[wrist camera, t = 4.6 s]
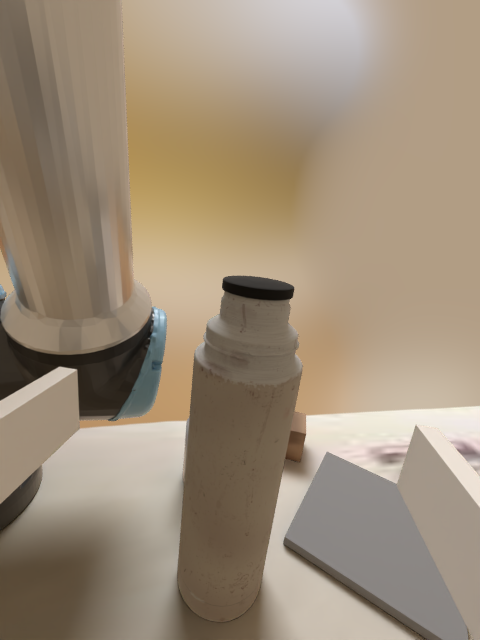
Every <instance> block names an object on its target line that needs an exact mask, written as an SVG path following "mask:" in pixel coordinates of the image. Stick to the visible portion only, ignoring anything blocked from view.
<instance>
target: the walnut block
mask: <svg viewBox="0 0 480 640" xmlns="http://www.w3.org/2000/svg"><path fill="white" fill-rule="evenodd" d="M305 436H306V414H303V413H299V412H294V416H293V421H292V426H291V431H290V436H289V441H288V446H287V451H286V457H285V459H289V460H293V461H297V462H300V460H301V455H302V450H303V446H304V441H305Z"/></svg>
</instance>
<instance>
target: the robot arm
mask: <svg viewBox="0 0 480 640" xmlns="http://www.w3.org/2000/svg"><path fill="white" fill-rule="evenodd" d="M126 114H127V113H126V91H125V67H124V45H123V21H122V0H0V249H1V252H2V255H3V257H4V260H5V263H6V266H7V268H8V271H9V274H10V277H11V280H12V282H13V286H14V288H15V290H14V291H13V292H12V293H11V294H9V296H8V297H7V298H6V300H5V297H6V292H5V291H4V289H3V287H2V286H1V285H0V530H1V529H3V528H4V527H5V526H6V525H8V524H9V523H10V522H11V521H12V520H13V519H15V518H16V517H17V516H18V515H19V514H20V513H21V512H22V511H23V510H24V509H25V507H26V506H27V505H28V504H29V502H30V501H31V500H32V498H33V497H34V495H35V494H36V492H37V490H38V488H39V486H40V483H41V480H42V464H43V463H44V462H45V461H46V460H47V459H48V458H49V457H50V456H51V455H52V454H53V453H54V452H55V451H56V450H58V449H59V448H60V447H61V446H62V445H63V444H64V443H65V442H66V441H67V440H68V439H69V438H70V437H71V436H72V435H73V434H74V433H75V432H76V431H77V430H79V429H80V424H79V420H108V421H116V420H118V419H121V418H132V417H140V416H143V415H145V414H146V413H148V412H149V411H150V410H151V408H152V407H153V404H154V402H155V399H156V396H157V391H158V387H159V382H160V376H161V364H162V362H163V356H164V350H165V340H166V329H167V318H166V313H165V312H164V311H163V310H162V309H158V308H156V307H152V302H151V298H150V295H149V293H148V291H147V289H146V288H145V287H144V286H143V285H142V284H141V283H140V282H138V281H137V280H135V279H134V275H133V253H132V228H131V206H130V185H129V184H130V182H129V160H128V139H127V138H128V137H127V115H126ZM397 487H398V489H399V491H400V493H401V495H402V497H403V499H404V501H405V503H406V505H407V507H408V509H409V511H410V513H411V515H412V517H413V519H414V521H415V523H416V525H417V527H418V529H419V531H420V533H421V535H422V538H423V540H424V542H425V544H426V546H427V548H428V550H429V552H430V554H431V556H432V558H433V560H434V562H435V564H436V566H437V568H438V570H439V572H440V574H441V576H442V578H443V580H444V582H445V584H446V586H447V588H448V590H449V592H450V594H451V596H452V598H453V600H454V602H455V604H456V606H457V608H458V610H459V612H460V614H461V616H462V618H463V620H464V622H465V624H466V626H467V628H468V630H469V632H470V634H471V636H472V638H473V640H480V476H479V475H478V474H477V472H476V471H475V470H474V469H473V468H472V467H471V466H470V464H469V463H468V462H467V461H466V460H465V459H464V458H463V456H462V455H461V454H460V453H459V452H458V451H457V450H456V448H455V447H454V446H453V445H452V444H451V443H450V441H449V440H448V439H447V438H446V437H445V436H444V435H443V433H442V432H441V431H440V430H439V429H438V428H434V427H428V426H421V425H416V426H415V429H414V432H413V436H412V439H411V442H410V445H409V448H408V451H407V454H406V458H405V461H404V464H403V467H402V470H401V473H400V476H399V480H398V483H397Z"/></svg>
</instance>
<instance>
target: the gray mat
mask: <svg viewBox="0 0 480 640" xmlns="http://www.w3.org/2000/svg"><path fill="white" fill-rule="evenodd" d="M283 544H285V545H286V546H288V547H289V548H291V549H292V550H294V551H295V552H297V553H298V554H300V555H301V556H303V557H304V558H306V559H307V560H309V561H310V562H312V563H313V564H315V565H316V566H318V567H319V568H321V569H322V570H324V571H325V572H327V573H328V574H330V575H331V576H333V577H334V578H336V579H337V580H339V581H340V582H342V583H343V584H345V585H346V586H348V587H349V588H351V589H352V590H354V591H355V592H357V593H358V594H360V595H361V596H363V597H364V598H366V599H367V600H369V601H370V602H372V603H373V604H375V605H376V606H378V607H379V608H381V609H382V610H384V611H385V612H387V613H388V614H390V615H391V616H393V617H394V618H396V619H397V620H399V621H400V622H402V623H403V624H405V625H406V626H408V627H409V628H411V629H412V630H414V631H415V632H417V633H418V634H420V635H421V636H423V637H424V638H426V639H427V640H468V631H467V626H466V624H465V622H464V620H463V618H462V616H461V614H460V612H459V610H458V608H457V606H456V604H455V602H454V600H453V598H452V596H451V594H450V592H449V590H448V588H447V586H446V584H445V582H444V580H443V578H442V576H441V574H440V572H439V570H438V568H437V566H436V564H435V562H434V560H433V558H432V556H431V554H430V552H429V550H428V548H427V546H426V544H425V542H424V540H423V538H422V535H421V533H420V531H419V529H418V527H417V525H416V523H415V521H414V519H413V517H412V515H411V513H410V511H409V509H408V507H407V505H406V503H405V501H404V499H403V497H402V495H401V493H400V491H399V489H398V487H397V484H395V483H393V482H391V481H389V480H387V479H384V478H382V477H380V476H378V475H376V474H374V473H372V472H369V471H367V470H365V469H363V468H361V467H359V466H357V465H354V464H352V463H350V462H348V461H346V460H344V459H342V458H339V457H337V456H335V455H333V454H331V453H329V452H327V453H326V455H325V457H324V459H323V461H322V463H321V465H320V467H319V469H318V471H317V473H316V475H315V477H314V479H313V481H312V483H311V485H310V487H309V489H308V491H307V493H306V495H305V497H304V499H303V501H302V503H301V505H300V507H299V509H298V511H297V513H296V515H295V517H294V519H293V521H292V523H291V525H290V527H289V529H288V531H287V533H286V535H285V538H284V543H283Z"/></svg>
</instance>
